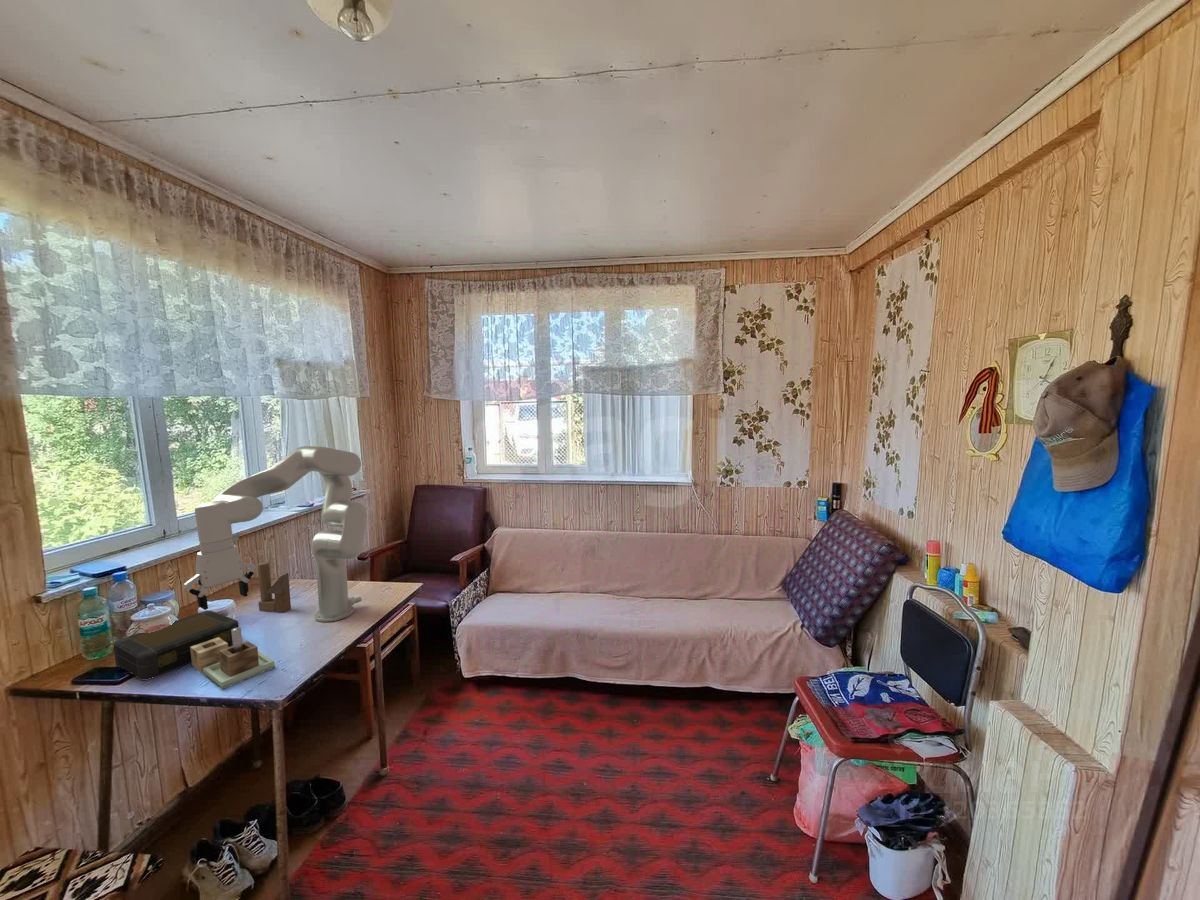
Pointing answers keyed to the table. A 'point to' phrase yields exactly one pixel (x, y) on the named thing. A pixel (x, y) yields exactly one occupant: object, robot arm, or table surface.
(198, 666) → the oak block
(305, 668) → the table surface
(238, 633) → the pin gauge
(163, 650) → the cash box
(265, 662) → the tray
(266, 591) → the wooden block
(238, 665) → the walnut block
